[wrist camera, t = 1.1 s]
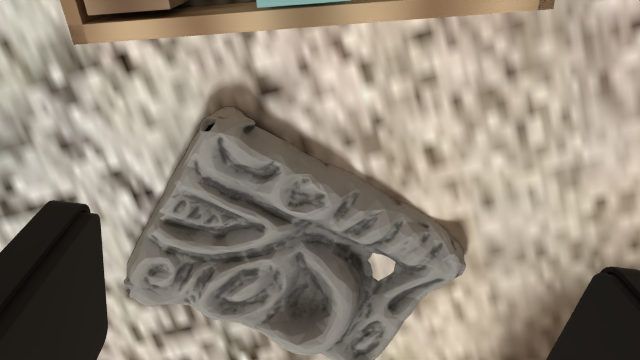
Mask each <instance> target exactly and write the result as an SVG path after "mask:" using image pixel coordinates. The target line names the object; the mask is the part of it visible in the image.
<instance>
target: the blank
mask: <svg viewBox="0 0 640 360" xmlns="http://www.w3.org/2000/svg"><path fill="white" fill-rule="evenodd" d="M256 1H257V8H261V7H275V6H288V5H301V4H314V3H327V2H340V1H351V0H256Z"/></svg>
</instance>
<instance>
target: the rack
mask: <svg viewBox="0 0 640 360" xmlns="http://www.w3.org/2000/svg"><path fill="white" fill-rule="evenodd" d="M60 1H61V5H62V8H63V11H64V14H65V18H66V21H67V24H68V27H69V30H70V34H71V37H72V40H73V43H74V45H75V44H88V43H102V42H115V41H128V40H142V39H155V38H169V37H182V36H196V35H209V34H223V33H236V32H249V31H263V30H276V29H290V28H303V27H317V26H330V25H344V24H357V23H370V22H384V21H397V20H411V19H424V18H438V17H451V16H464V15H478V14H491V13H505V12H518V11H532V10H545V9H553V8H554V1H555V0H351V1H340V2H327V3H314V4H301V5H288V6H275V7H261V8H257V2H249V3H236V4H223V5H210V6H197V7H184V8H174V7H176V6H178V5H180V4H182V3H185V2H187V1H189V0H60Z"/></svg>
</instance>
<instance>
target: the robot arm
mask: <svg viewBox="0 0 640 360" xmlns="http://www.w3.org/2000/svg"><path fill="white" fill-rule="evenodd" d="M107 329H108V320H107V306H106V292H105V279H104V265H103V251H102V237H101V224H100V217H99V215H98V214H93V213H90V209H89V207H88V206H87V205H86V204H80V203H71V202H63V201H55V200H53V201H49V202H48V203H46V204H45V205H44V207H43V208H42V209H41V210H40V211H39V212H38V213H37V214H36V215H35V216H34V217H33V218H32V219H31V220H30V221H29V223H28V224H27V225H26V226H25V227H24V228H23V229H22V230H21V231H20V232H19V233H18V234H17V235H16V236H15V237H14V239H13V240H12V241H11V242H10V243H9V244H8V245H7V246H6V247H5V248H4V249H3V250H2V251H1V252H0V360H97V357H98V355H99V353H100V351H101V349H102V347H103V345H104V342H105V339H106V335H107ZM546 360H640V271H639V270H635V269H626V268H618V267H606V268H605V269H603V270H602V271H601V272H600V273H598V274H596V275H595V276H594V277H593V278H592V280H591V281H590V283H589V285H588V287H587V288H586V290H585V292H584V294H583V296H582V297H581V299H580V301H579V303H578V304H577V306H576V308H575V310H574V312H573V313H572V315H571V317H570V319H569V320H568V322H567V324H566V326H565V328H564V329H563V331H562V333H561V335H560V336H559V338H558V340H557V342H556V343H555V345H554V347H553V349H552V351H551V352H550V354H549V356H548V358H547V359H546Z"/></svg>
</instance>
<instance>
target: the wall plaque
mask: <svg viewBox="0 0 640 360" xmlns="http://www.w3.org/2000/svg"><path fill="white" fill-rule="evenodd" d="M214 123H215V124H214ZM213 124H214V126H213V127H212V128H211V130H210V131H207V129H208V128H209V127H210V126H211V125H213ZM255 124H256V123H255V122H254V120H252V119H249V118H247V117H245V115H244V114H243V113H242V112H241V111H240V110H238V109H236V108H234V107H227V106H226V107H224V108H221V109H219V110H218V111H216V112H215V113H213V114H211V115H210V116H208V117H207V118H204V119H203V121H202V122H201V124H200V131H199V132H198V133H197V134H196V136H195V137H194V139H193V140H192V142H191V143H190V145H189V148H188V150H187V151H186V153H185V155H184V157H183V159H182V160H181V162H180V163H179V165H178V167H177V169H176V170H175V172H174V173H173V175H172V177H171V179H170V181H169V183H168V185H167V188H166V190H165V192H164V194H163V196H162V198H161V200H160V201H159V203H158V205H157V207H156V208H155V210H154V213H153V215H152V216H151V218H150V220H149V222H148V223H147V225H146V227H145V229H144V231H143V232H142V234H141V236H140V238H139V240H138V242H137V245H136V247H135V249H134V251H133V253H132V256H131V258H130V260H129V262H128V264H127V277H126V279H125V280H124V286H123V287H124V289H125V290H126V291H127V292H128V294H129V295H130V297H131V298H134V299H136V300H137V301H138V302H140V303H141V304H144V305H146V306H152V307H153V306H158V305H163V304H183V305H191V306H193V307H195V308H196V309H198V310H199V311H200V312H201V313H202V314H203V315H205V316H208V317H210V318H212V319H214V320H220V321H227V322H235V323H240V324H243V325H245V326H248V327H250V328H253V329H255V330H257V331H260V332H261V333H263V334H264V335H266V336H267V337H268V338H270V339H271V340H272V341H273V342H275V343H276V344H277V345H279V346H280V347H282V348H284V349H286V350H288V351H290V352H292V353H296V354H303V355H313V354H320V353H321V354H323V355H325V356H326V357H328V358H330V359H332V360H375V359H376V358H377V357H378V356H379V355H380V354H381V353H382V352H383V350H384V349H385V348H386V347H387V346H388V344H389V343H390V342H391V340H392V339H393V338H394V336H395V335H396V333H397V332H398V331H399V329H400V327H401V326H402V324H403V322H404V320H405V319H406V318H407V317H408V316H409V315H410V314H411V313H412V311H413V310H414V308H415V307H416V305H417V304H418V302H419V301H420V300H421V299H422V298H423V297H425V296H426V295H427V294H428V293H429V292H431V291H433V290H436V289H438V288H440V287H442V286H444V285H446V284H447V283H448V282H450V281H451V280H452V279H454V278H456V277H458V276H460V275H462V273H463V272H464V270H465V267H466V264H465V262H464V252H463V249H462V248H461V246H460V244H459V242H457V241H455V240H454V239H453V238H452V236H451V235H450V234H449V233H448V232H447V230H445V229H444V228H443V227H442V226H441V225H439V224H438V223H437V222H436V221H434V220H433V219H431V218H430V217H428V216H426V215H425V214H423V213H422V212H420V211H418V210H417V209H415V208H413V207H412V206H410V205H408V204H406V203H401V202H398V201H396V200H394V199H392V198H391V197H389V196H388V195H386V194H385V193H383V192H381V191H380V190H379V189H377V188H376V187H374V186H372V185H371V184H369V183H367V182H365V181H364V180H362V179H360V178H359V177H357V176H355V175H354V174H352V173H350V172H347V171H345V170H342V169H340V168H338V167H336V166H333V165H330V164H325V163H323V162H322V161H320V160H319V159H317V158H315V157H313V156H311V155H308V154H306V153H304V152H302V151H300V150H299V149H298V148H296V147H295V146H294V145H292V144H291V143H289V142H287V141H285V140H282V139H280V138H278V137H276V136H274V135H272V134H271V133H269V132H267V131H265V130H263V129H261V128H259V127H257V126H255ZM228 223H229V224H228ZM225 224H226V225H225ZM372 253H376V254H382V255H385V256H387V257H389V258H391V259H392V260H394V261H395V262H396V264H395V268H394V272H393V273H392V274H390V275H388V276H387V277H385V278H383V279H381V280H379V281H377V280H376V279H374V278H373V276H372V268H371V265H370V263H369V262H368V259H369V258H370V257H371V255H372Z"/></svg>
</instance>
